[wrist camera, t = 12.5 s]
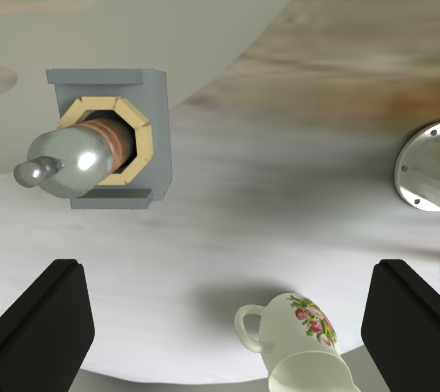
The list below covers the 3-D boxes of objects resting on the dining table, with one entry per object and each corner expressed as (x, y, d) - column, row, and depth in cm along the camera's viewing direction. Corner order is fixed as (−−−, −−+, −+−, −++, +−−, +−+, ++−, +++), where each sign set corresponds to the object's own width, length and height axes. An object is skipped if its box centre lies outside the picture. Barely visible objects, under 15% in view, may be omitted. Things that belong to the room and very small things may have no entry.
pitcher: (248, 261, 47) (258, 328, 34) (346, 300, 49) (391, 377, 36) (218, 312, 50) (218, 391, 37) (312, 347, 53) (341, 432, 40)
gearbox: (166, 72, 37) (145, 67, 27) (172, 180, 42) (156, 210, 32) (85, 72, 37) (33, 67, 27) (101, 180, 42) (62, 210, 32)
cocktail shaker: (133, 115, 31) (76, 135, 19) (139, 163, 33) (90, 211, 20) (84, 116, 31) (-6, 136, 19) (92, 163, 33) (15, 212, 20)
